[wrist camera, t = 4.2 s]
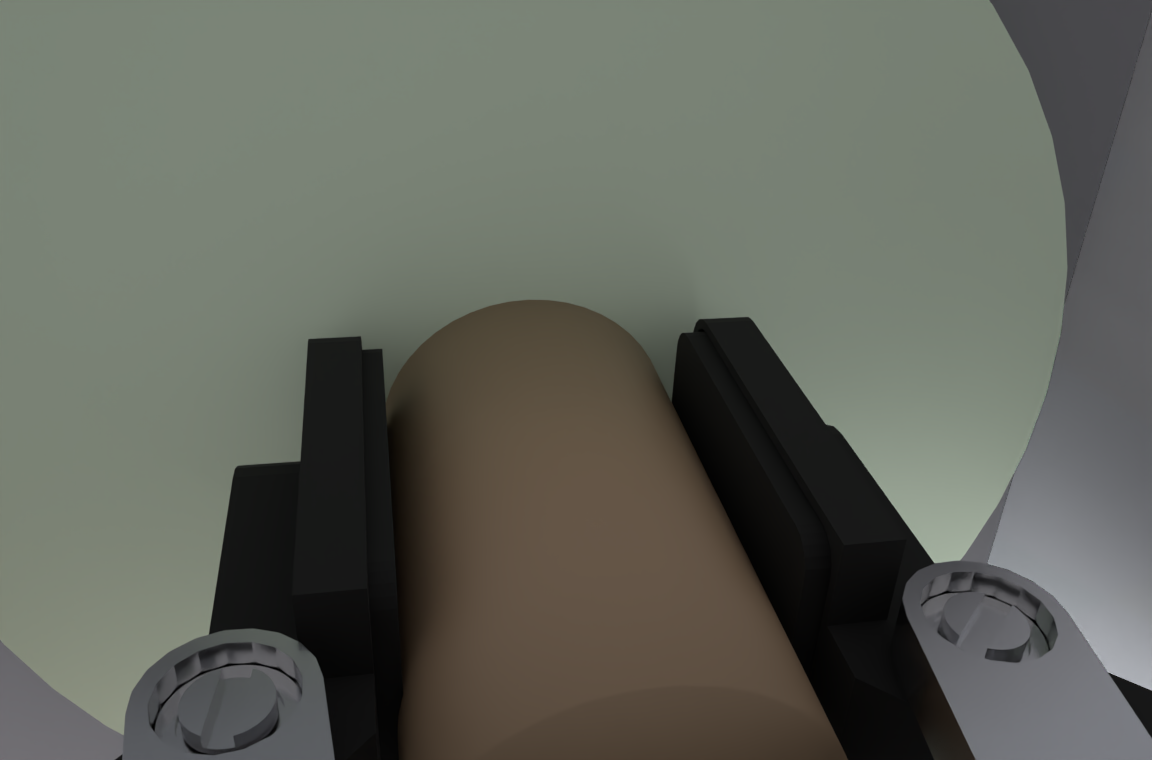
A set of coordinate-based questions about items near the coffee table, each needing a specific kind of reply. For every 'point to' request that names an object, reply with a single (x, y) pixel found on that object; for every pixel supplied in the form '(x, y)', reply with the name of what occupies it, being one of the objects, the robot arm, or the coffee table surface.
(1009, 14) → the mat
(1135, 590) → the coffee table surface
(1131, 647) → the coffee table surface
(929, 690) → the robot arm
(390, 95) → the lid
